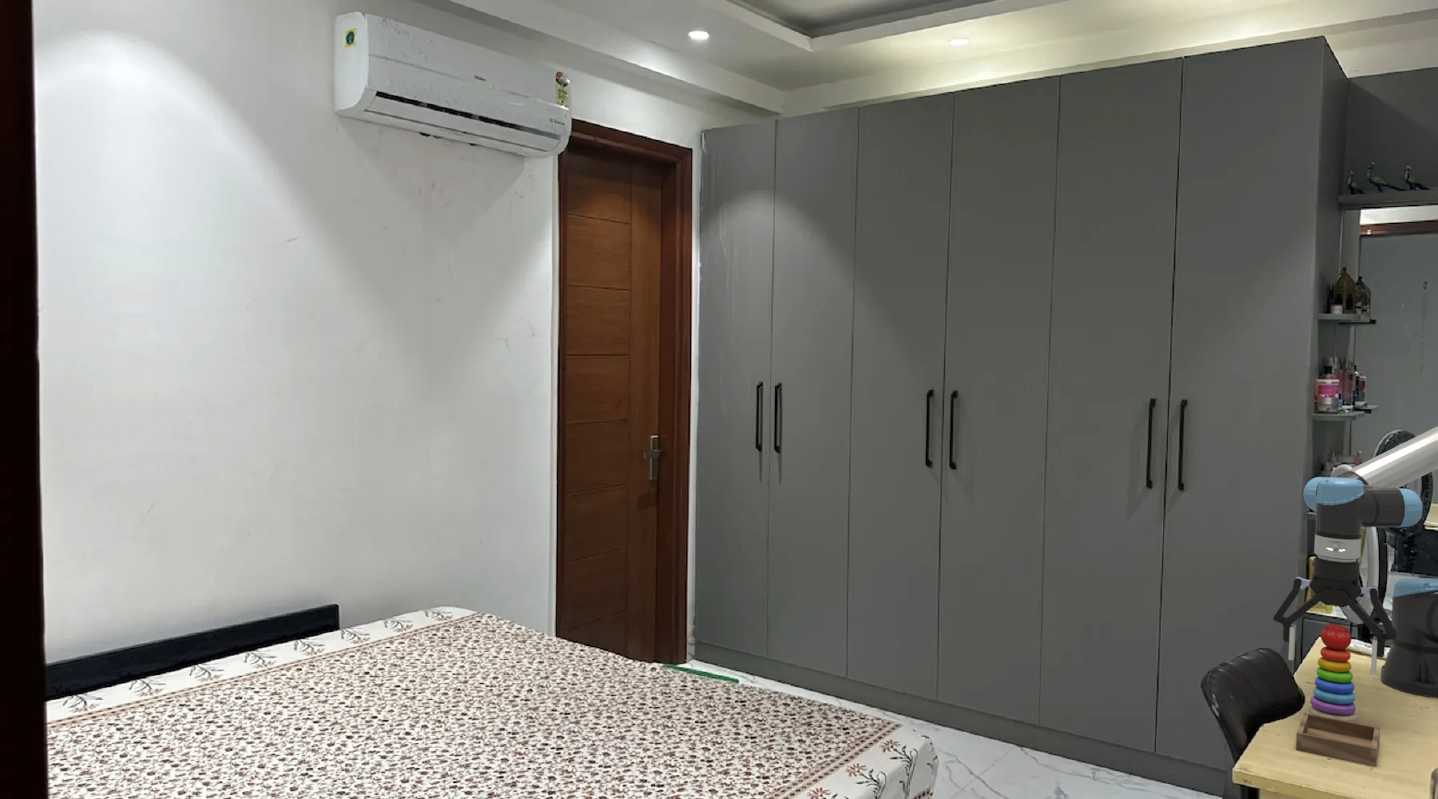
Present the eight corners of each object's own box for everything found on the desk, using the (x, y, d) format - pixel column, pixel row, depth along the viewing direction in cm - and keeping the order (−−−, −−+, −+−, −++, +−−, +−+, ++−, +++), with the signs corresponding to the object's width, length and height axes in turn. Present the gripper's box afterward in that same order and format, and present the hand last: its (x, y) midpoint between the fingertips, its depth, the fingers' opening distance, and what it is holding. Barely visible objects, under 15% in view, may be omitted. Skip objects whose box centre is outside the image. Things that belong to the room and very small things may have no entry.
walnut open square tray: (1303, 728, 186) (1304, 712, 185) (1379, 743, 178) (1380, 727, 178) (1296, 749, 176) (1296, 733, 176) (1375, 766, 169) (1376, 749, 169)
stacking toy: (1364, 728, 185) (1368, 631, 184) (1318, 725, 187) (1321, 629, 186) (1346, 713, 193) (1349, 620, 192) (1302, 710, 195) (1305, 618, 194)
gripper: (1260, 552, 193) (1256, 657, 194) (1415, 570, 178) (1409, 684, 179) (1266, 546, 199) (1261, 648, 200) (1416, 563, 184) (1410, 673, 185)
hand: (1331, 665), depth 190 cm, fingers open, 13 cm apart
